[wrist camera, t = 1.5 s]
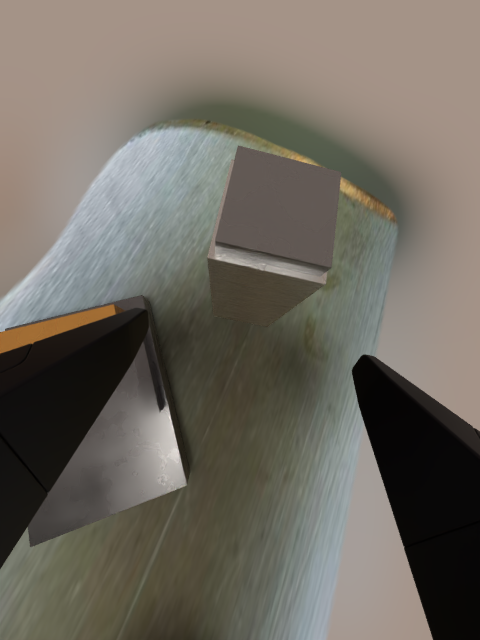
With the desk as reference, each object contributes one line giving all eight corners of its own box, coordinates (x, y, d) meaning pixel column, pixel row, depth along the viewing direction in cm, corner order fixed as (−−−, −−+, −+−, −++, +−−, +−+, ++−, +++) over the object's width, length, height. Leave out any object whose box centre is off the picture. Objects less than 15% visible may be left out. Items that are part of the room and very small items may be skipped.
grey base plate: (190, 472, 18) (181, 507, 14) (52, 525, 16) (-9, 584, 12) (149, 301, 21) (130, 285, 16) (27, 332, 19) (-31, 323, 15)
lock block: (267, 327, 21) (337, 275, 9) (213, 316, 21) (205, 245, 8) (275, 277, 23) (347, 168, 10) (224, 266, 22) (233, 138, 10)
